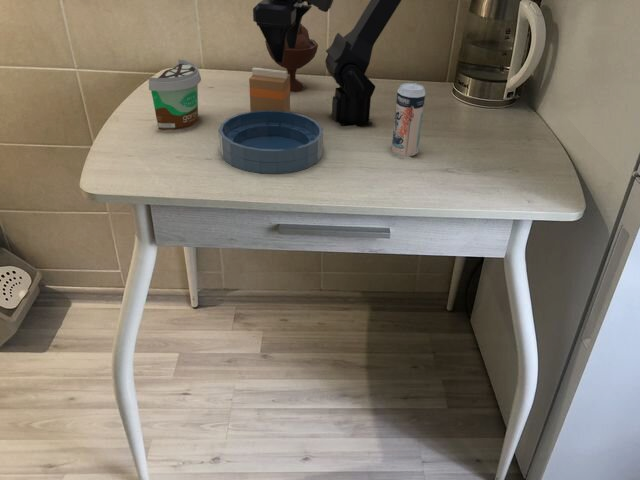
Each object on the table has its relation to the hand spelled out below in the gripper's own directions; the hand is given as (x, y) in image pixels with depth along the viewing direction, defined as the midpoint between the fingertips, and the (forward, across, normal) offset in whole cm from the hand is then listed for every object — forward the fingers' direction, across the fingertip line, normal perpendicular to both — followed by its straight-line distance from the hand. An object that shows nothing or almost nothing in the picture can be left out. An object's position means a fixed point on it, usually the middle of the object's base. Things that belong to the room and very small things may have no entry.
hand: (285, 54), depth 106 cm
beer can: (+13, -6, -23) cm, 27 cm away
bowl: (+13, -13, -1) cm, 19 cm away
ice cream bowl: (+13, +21, +4) cm, 25 cm away
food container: (+13, -6, +18) cm, 23 cm away
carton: (+13, +2, +4) cm, 14 cm away
